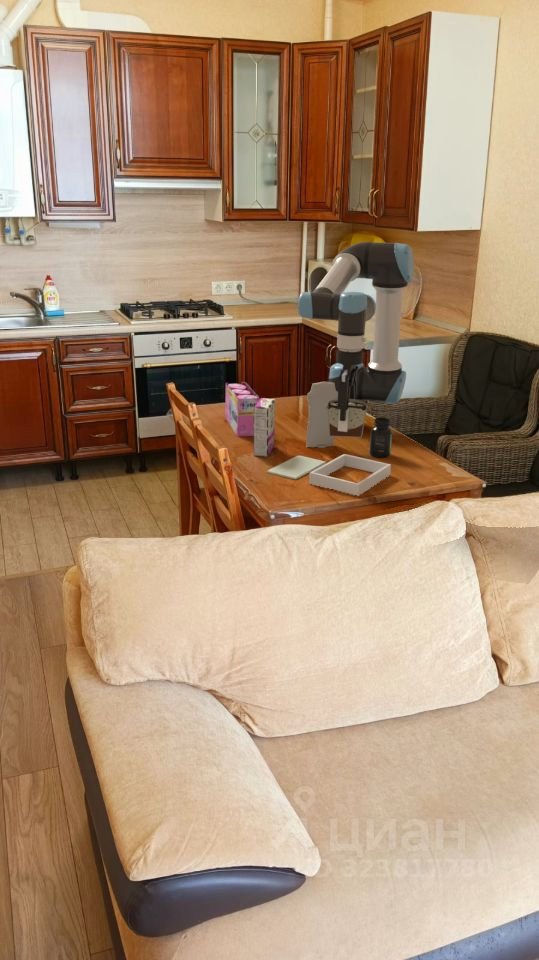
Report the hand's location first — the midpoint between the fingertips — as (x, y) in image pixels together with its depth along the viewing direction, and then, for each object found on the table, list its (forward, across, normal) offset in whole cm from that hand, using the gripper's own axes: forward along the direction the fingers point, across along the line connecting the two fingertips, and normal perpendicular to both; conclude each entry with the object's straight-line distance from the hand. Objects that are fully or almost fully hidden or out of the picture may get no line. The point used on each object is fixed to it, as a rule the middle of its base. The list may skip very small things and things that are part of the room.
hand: (345, 427), depth 226 cm
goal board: (+16, +3, +15) cm, 22 cm away
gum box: (+16, +37, +46) cm, 61 cm away
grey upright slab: (+16, +26, +14) cm, 34 cm away
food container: (+2, 0, 0) cm, 2 cm away
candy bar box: (+16, +14, +30) cm, 36 cm away
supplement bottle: (+16, +25, -6) cm, 30 cm away
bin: (+16, -1, -3) cm, 16 cm away
